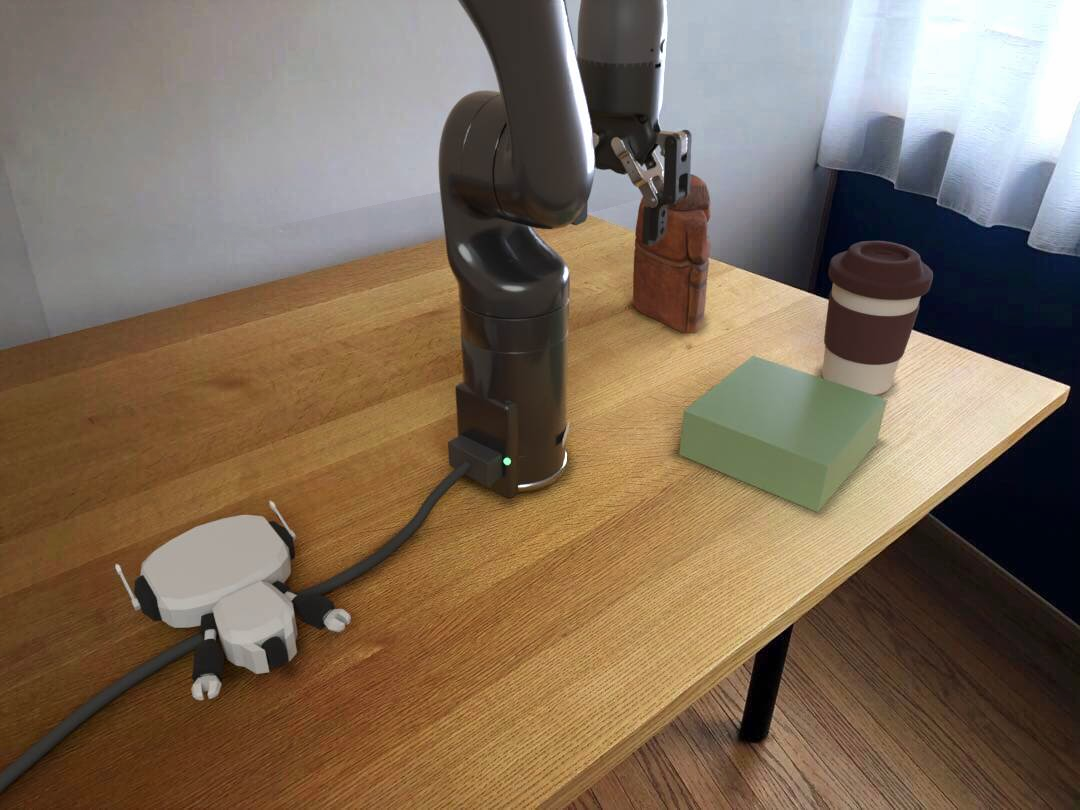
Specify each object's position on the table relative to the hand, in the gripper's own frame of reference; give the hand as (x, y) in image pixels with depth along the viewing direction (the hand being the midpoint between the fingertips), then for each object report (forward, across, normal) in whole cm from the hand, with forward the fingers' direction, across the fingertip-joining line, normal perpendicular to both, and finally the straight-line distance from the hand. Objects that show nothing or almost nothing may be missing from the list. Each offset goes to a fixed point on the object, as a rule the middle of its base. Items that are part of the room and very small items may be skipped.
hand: (613, 232), depth 82 cm
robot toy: (+18, -2, -44) cm, 47 cm away
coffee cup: (+19, +19, +20) cm, 34 cm away
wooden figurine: (+19, -6, +21) cm, 29 cm away
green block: (+18, +19, +3) cm, 26 cm away
